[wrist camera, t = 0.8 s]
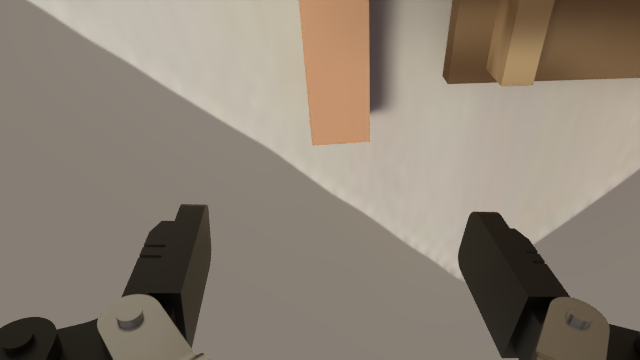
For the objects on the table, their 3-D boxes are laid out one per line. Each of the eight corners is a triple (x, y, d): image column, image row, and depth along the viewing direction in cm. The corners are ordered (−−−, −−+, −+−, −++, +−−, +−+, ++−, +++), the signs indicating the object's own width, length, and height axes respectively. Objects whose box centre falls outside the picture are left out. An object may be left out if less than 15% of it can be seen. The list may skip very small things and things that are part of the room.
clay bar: (289, -136, 26) (286, -138, 22) (359, -142, 25) (367, -145, 22) (312, 116, 35) (312, 145, 31) (363, 112, 34) (370, 141, 31)
